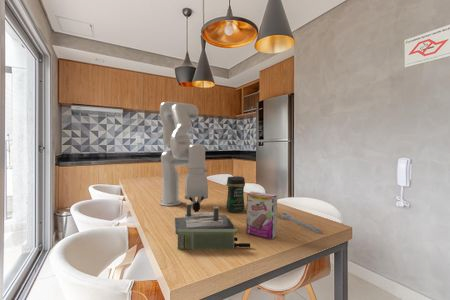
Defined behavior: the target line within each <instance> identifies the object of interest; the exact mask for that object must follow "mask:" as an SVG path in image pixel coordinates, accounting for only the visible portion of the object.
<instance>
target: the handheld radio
mask: <svg viewBox="0 0 450 300" xmlns="http://www.w3.org/2000/svg"><path fill="white" fill-rule="evenodd" d="M237 235H238V229H237V228H234V229H178V234H177V250H235V248H251V242H245V243H244V242H238V241H239V239H238V237H235V236H237ZM237 242H238V243H237Z"/></svg>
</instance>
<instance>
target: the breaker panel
mask: <svg viewBox="0 0 450 300" xmlns="http://www.w3.org/2000/svg"><path fill="white" fill-rule="evenodd" d="M186 215H187V213H184V216H182V217H175V218H174V227H175V231H174V232H175V234H176V235H178V229H235V225H234V224H233V223H232V221H231V220H230V218H229V217H228V216H227V215H226V214H219V220H215V221H213V219H214V211H208V212H206V211H205V212H191V216H186Z"/></svg>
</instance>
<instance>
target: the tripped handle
mask: <svg viewBox="0 0 450 300" xmlns="http://www.w3.org/2000/svg"><path fill="white" fill-rule="evenodd" d="M191 213H192V201H190V202H186V214H187V215H186V216H191Z"/></svg>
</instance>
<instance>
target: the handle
mask: <svg viewBox="0 0 450 300" xmlns="http://www.w3.org/2000/svg"><path fill="white" fill-rule="evenodd" d="M219 209H220V207H219V206H218V205H214V206H213V212H214V219H213V221H215V220H219V215H220V214H219V211H220V210H219Z"/></svg>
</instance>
